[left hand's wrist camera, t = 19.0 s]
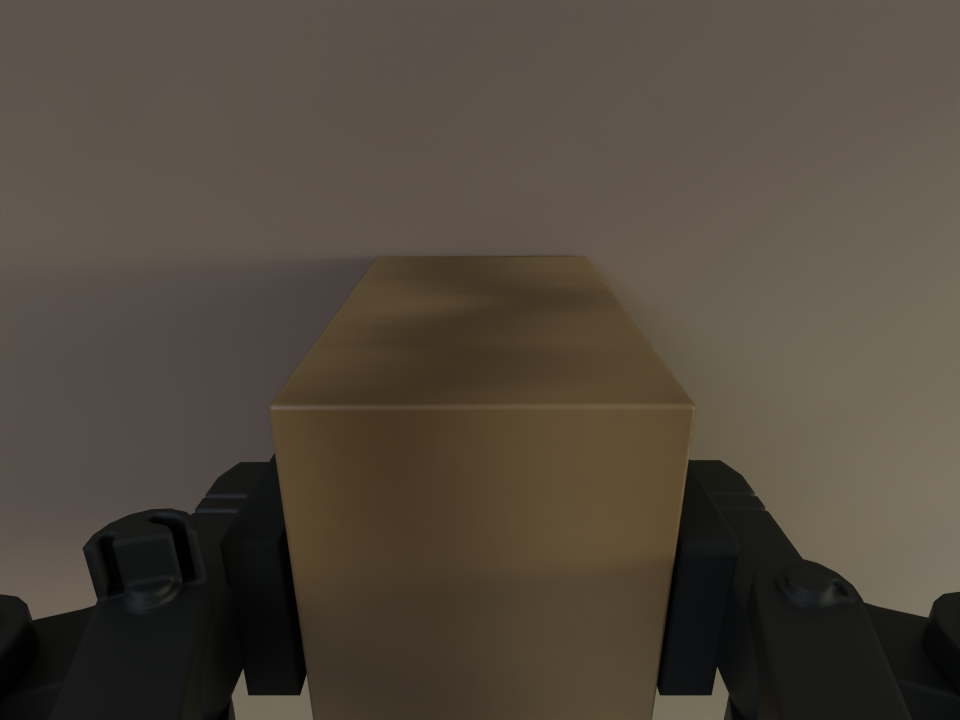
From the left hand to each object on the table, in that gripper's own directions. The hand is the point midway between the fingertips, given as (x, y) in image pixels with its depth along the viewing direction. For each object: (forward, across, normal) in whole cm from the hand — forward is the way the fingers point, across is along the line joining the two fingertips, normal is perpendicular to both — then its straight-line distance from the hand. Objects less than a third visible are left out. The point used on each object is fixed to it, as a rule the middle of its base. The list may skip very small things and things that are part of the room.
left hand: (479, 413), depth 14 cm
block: (+1, 0, 0) cm, 1 cm away
